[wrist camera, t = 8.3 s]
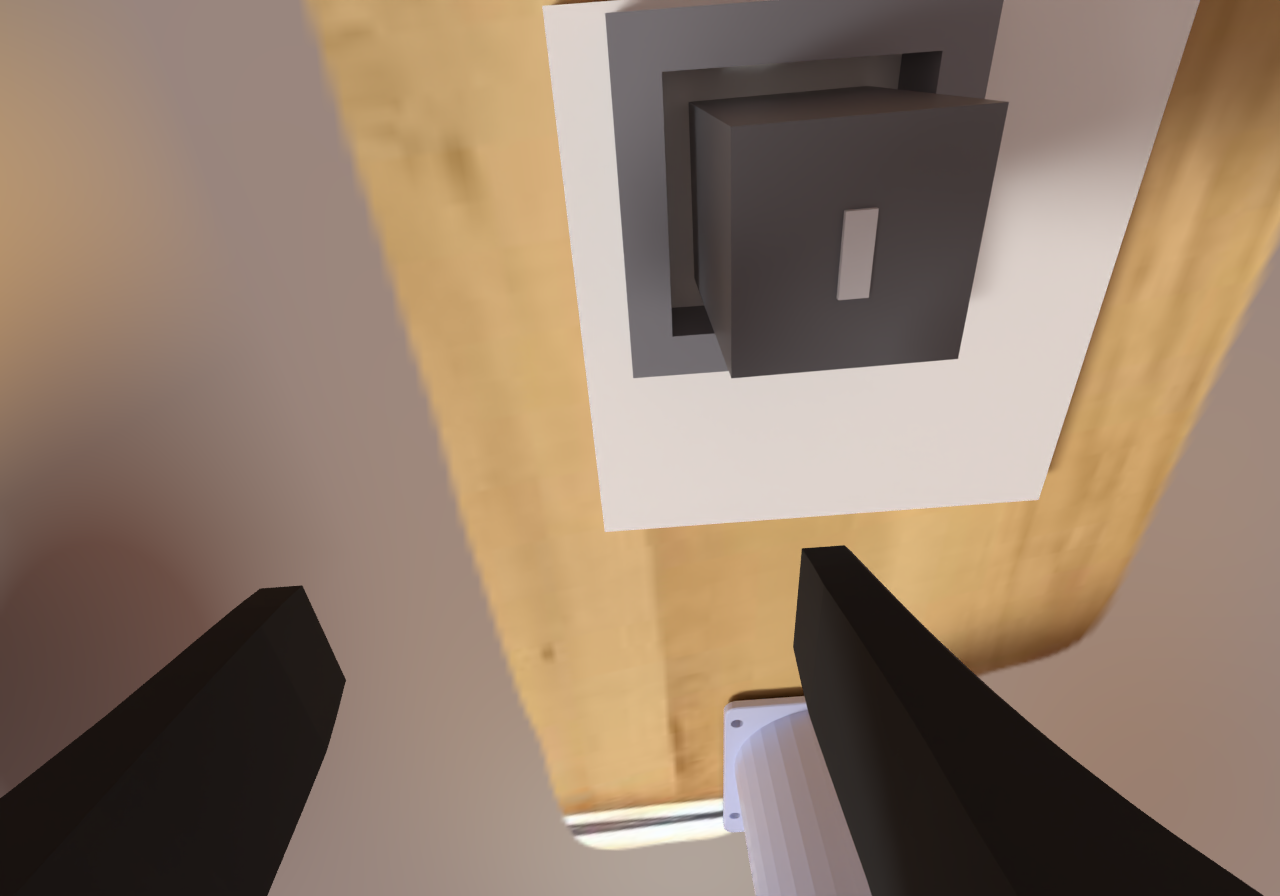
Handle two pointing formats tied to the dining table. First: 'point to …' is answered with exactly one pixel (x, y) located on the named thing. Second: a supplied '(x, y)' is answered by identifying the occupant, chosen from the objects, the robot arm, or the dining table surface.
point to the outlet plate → (866, 396)
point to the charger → (839, 224)
